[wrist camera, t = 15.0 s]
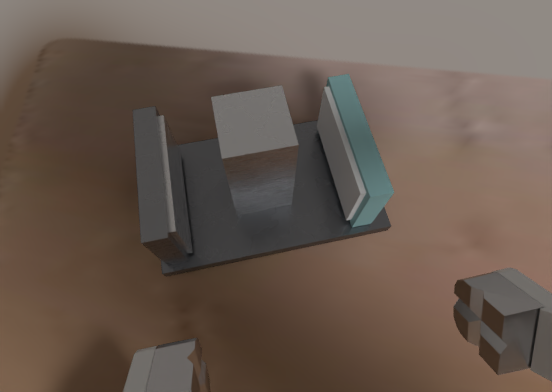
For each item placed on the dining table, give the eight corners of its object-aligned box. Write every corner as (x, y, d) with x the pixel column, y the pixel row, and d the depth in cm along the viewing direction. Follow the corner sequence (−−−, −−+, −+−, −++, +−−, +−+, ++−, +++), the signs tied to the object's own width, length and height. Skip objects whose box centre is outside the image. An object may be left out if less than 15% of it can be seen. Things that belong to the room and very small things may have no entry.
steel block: (236, 215, 28) (221, 158, 20) (228, 167, 30) (210, 97, 22) (291, 204, 29) (298, 145, 21) (279, 157, 31) (281, 85, 22)
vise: (348, 121, 33) (365, 65, 27) (387, 230, 29) (419, 194, 23) (155, 155, 32) (125, 105, 25) (165, 276, 27) (133, 252, 21)
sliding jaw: (336, 121, 32) (348, 73, 27) (371, 223, 28) (394, 192, 23) (314, 124, 32) (322, 78, 27) (347, 228, 28) (364, 198, 23)
